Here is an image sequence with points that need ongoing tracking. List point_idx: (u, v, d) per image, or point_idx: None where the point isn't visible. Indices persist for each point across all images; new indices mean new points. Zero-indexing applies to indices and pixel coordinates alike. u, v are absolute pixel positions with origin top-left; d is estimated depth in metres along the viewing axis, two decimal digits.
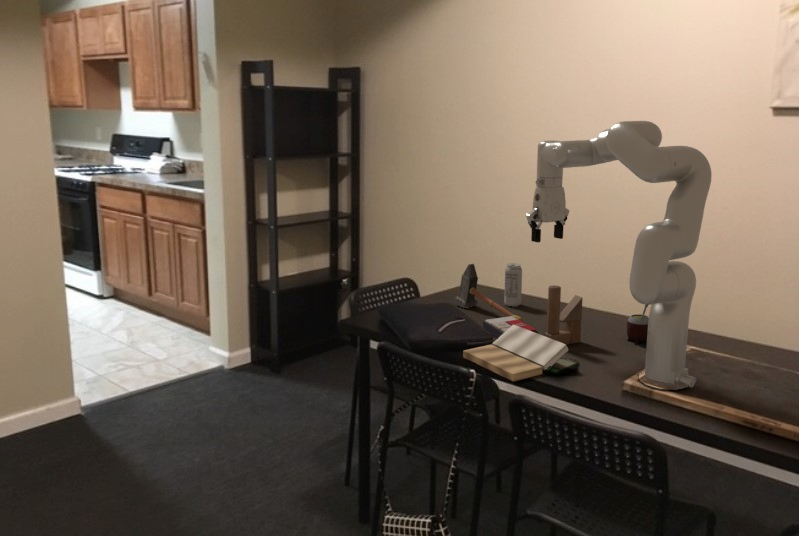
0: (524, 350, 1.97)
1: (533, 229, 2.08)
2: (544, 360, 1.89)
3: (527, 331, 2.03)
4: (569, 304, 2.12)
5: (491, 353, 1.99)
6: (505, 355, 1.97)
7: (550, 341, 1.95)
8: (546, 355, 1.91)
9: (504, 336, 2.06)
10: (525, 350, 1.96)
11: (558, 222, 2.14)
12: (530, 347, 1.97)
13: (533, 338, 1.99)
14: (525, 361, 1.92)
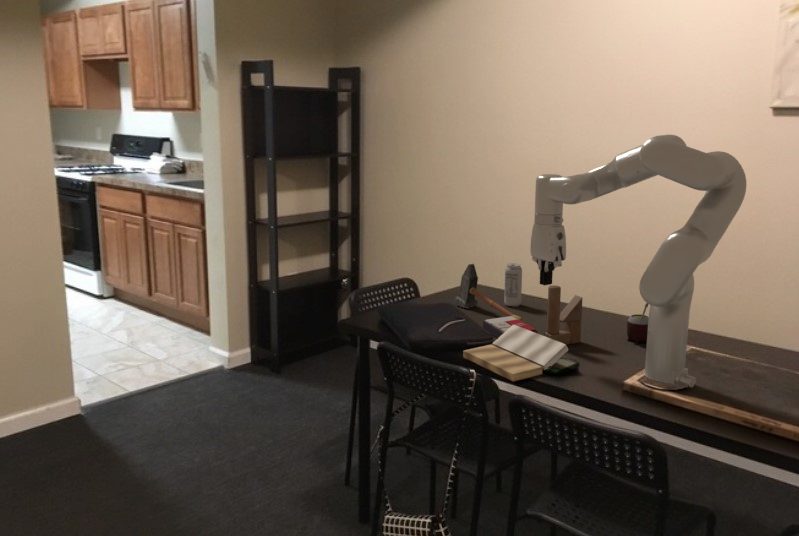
0: (524, 350, 1.97)
1: (549, 272, 1.96)
2: (544, 360, 1.89)
3: (527, 331, 2.03)
4: (569, 304, 2.12)
5: (491, 353, 1.99)
6: (505, 355, 1.97)
7: (550, 341, 1.95)
8: (546, 355, 1.91)
9: (504, 336, 2.06)
10: (525, 350, 1.96)
11: (543, 265, 1.97)
12: (530, 347, 1.97)
13: (533, 338, 1.99)
14: (525, 361, 1.92)
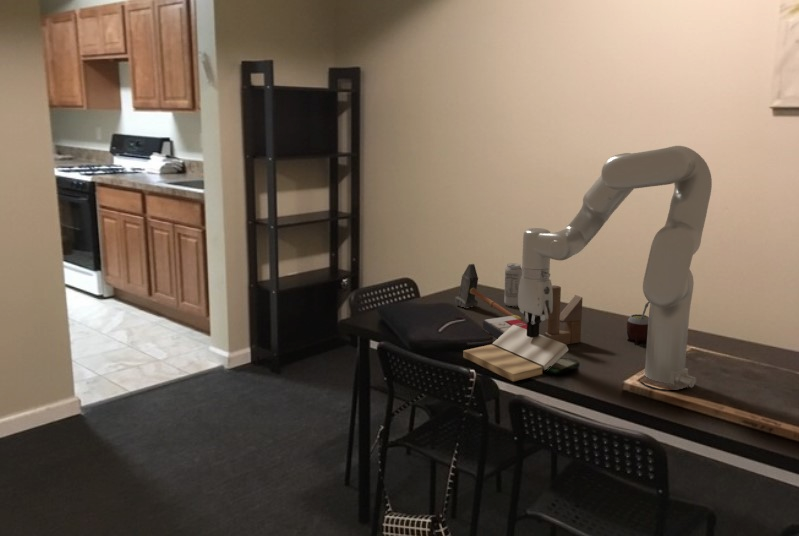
0: (524, 350, 1.97)
1: (536, 324, 1.97)
2: (544, 360, 1.89)
3: None
4: (569, 304, 2.12)
5: (491, 353, 1.99)
6: (505, 355, 1.97)
7: (550, 341, 1.95)
8: (546, 355, 1.91)
9: (504, 336, 2.06)
10: (525, 350, 1.96)
11: (530, 317, 1.99)
12: (530, 347, 1.97)
13: (533, 338, 1.99)
14: (525, 361, 1.92)
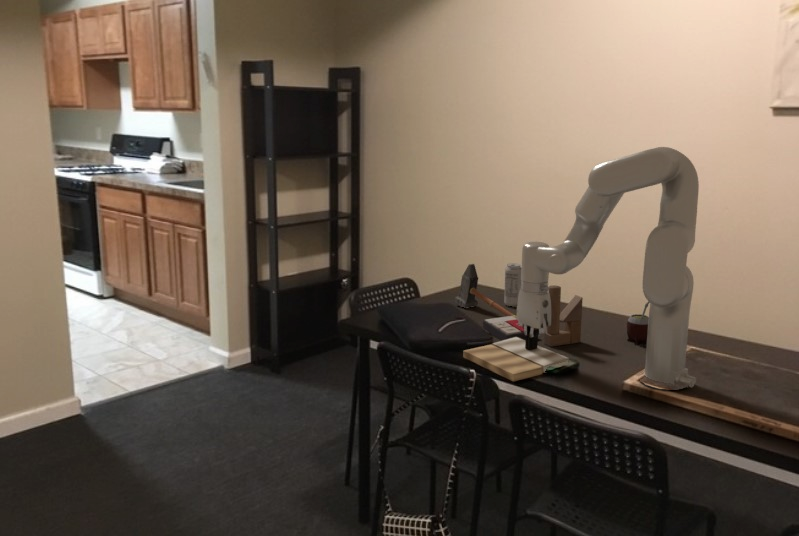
0: (524, 353, 1.97)
1: (534, 337, 1.98)
2: (544, 363, 1.90)
3: None
4: (569, 304, 2.12)
5: (491, 353, 1.99)
6: (505, 355, 1.97)
7: (552, 353, 1.96)
8: (547, 360, 1.91)
9: (505, 341, 2.07)
10: (525, 353, 1.97)
11: (529, 330, 2.00)
12: (531, 353, 1.97)
13: None
14: (525, 361, 1.92)
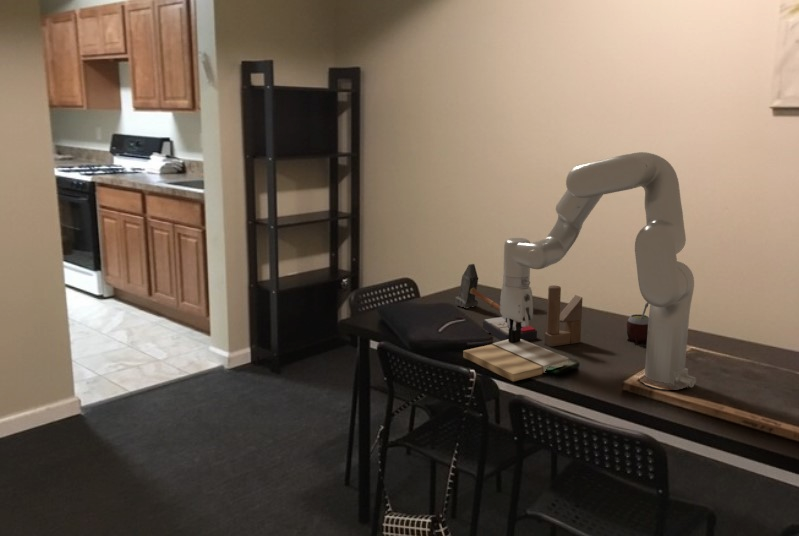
0: (524, 353, 1.97)
1: (517, 330, 2.05)
2: (544, 363, 1.90)
3: (530, 343, 2.05)
4: (569, 304, 2.12)
5: (491, 353, 1.99)
6: (505, 355, 1.97)
7: (552, 353, 1.96)
8: (547, 360, 1.91)
9: (505, 342, 2.07)
10: (525, 353, 1.97)
11: (512, 324, 2.06)
12: (531, 353, 1.97)
13: (535, 349, 2.00)
14: (525, 361, 1.92)
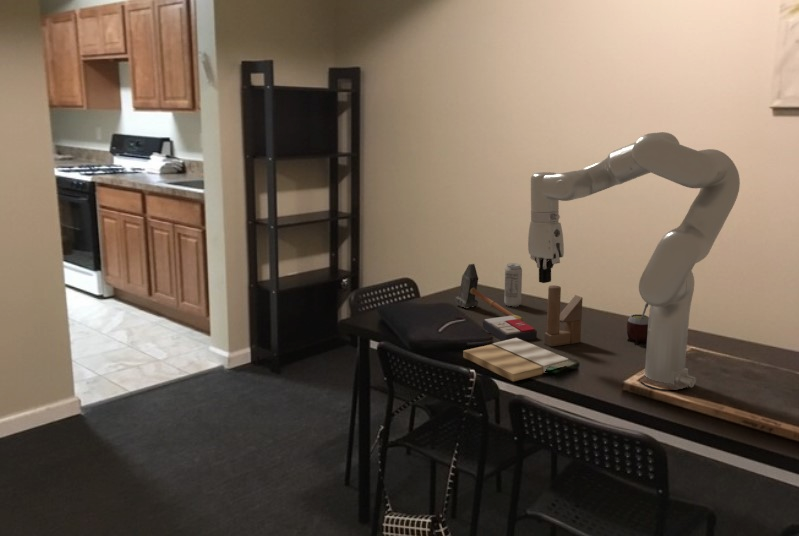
0: (524, 353, 1.97)
1: (548, 269, 1.97)
2: (544, 363, 1.90)
3: (530, 344, 2.05)
4: (569, 304, 2.12)
5: (491, 353, 1.99)
6: (505, 355, 1.97)
7: (552, 354, 1.96)
8: (547, 360, 1.91)
9: (505, 342, 2.07)
10: (525, 354, 1.97)
11: (542, 263, 1.98)
12: (531, 353, 1.97)
13: (535, 349, 2.00)
14: (525, 361, 1.92)
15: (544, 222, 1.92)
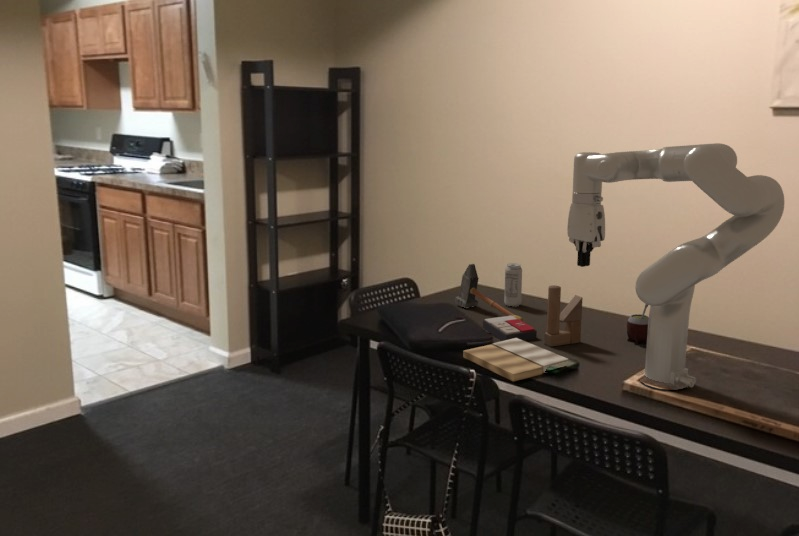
0: (524, 353, 1.97)
1: (587, 253, 1.91)
2: (544, 363, 1.90)
3: (530, 344, 2.05)
4: (569, 304, 2.12)
5: (491, 353, 1.99)
6: (505, 355, 1.97)
7: (552, 354, 1.96)
8: (547, 360, 1.91)
9: (505, 342, 2.07)
10: (525, 354, 1.97)
11: (581, 246, 1.92)
12: (531, 353, 1.97)
13: (535, 349, 2.00)
14: (525, 361, 1.92)
15: (586, 204, 1.86)
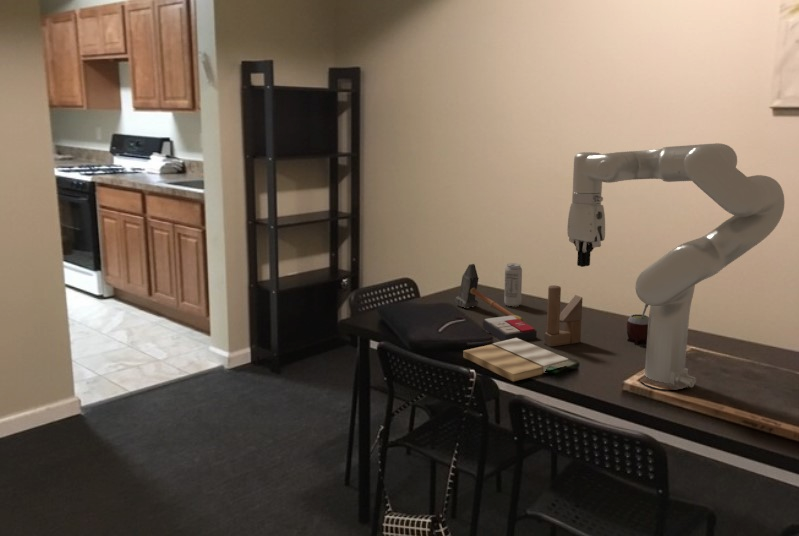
0: (524, 353, 1.97)
1: (587, 253, 1.91)
2: (544, 363, 1.90)
3: (530, 344, 2.05)
4: (569, 304, 2.12)
5: (491, 353, 1.99)
6: (505, 355, 1.97)
7: (552, 354, 1.96)
8: (547, 360, 1.91)
9: (505, 342, 2.07)
10: (525, 354, 1.97)
11: (581, 246, 1.92)
12: (531, 353, 1.97)
13: (535, 349, 2.00)
14: (525, 361, 1.92)
15: (586, 204, 1.86)
